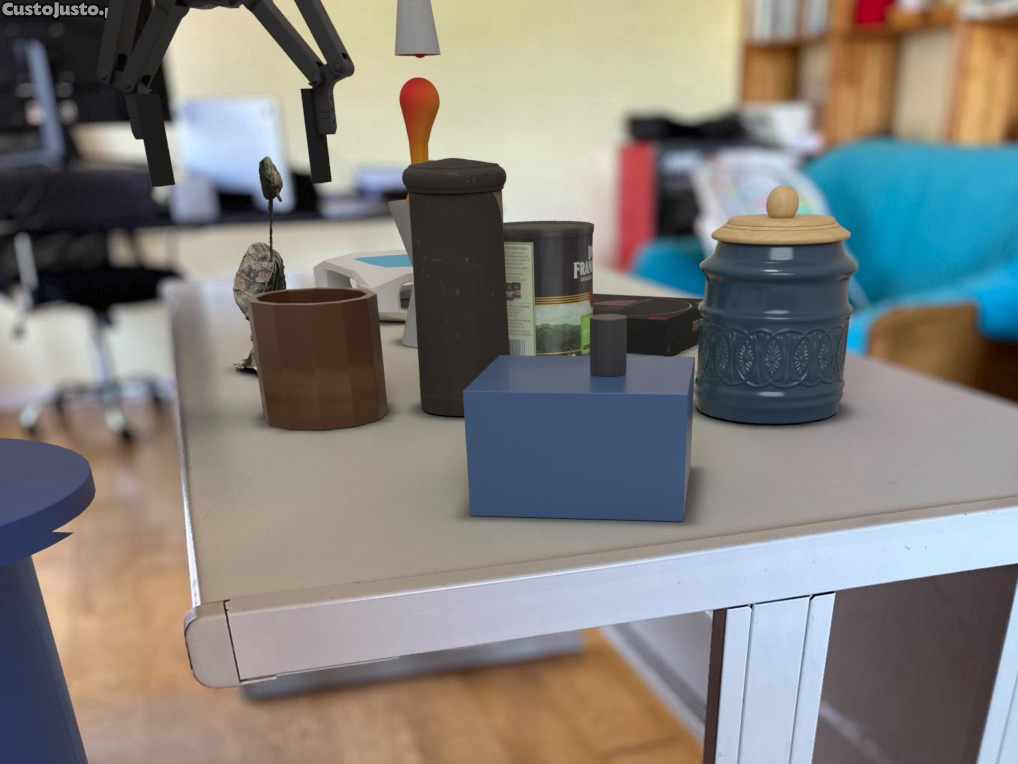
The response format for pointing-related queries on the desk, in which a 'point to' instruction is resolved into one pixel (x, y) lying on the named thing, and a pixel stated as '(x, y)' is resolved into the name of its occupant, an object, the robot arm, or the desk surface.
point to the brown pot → (318, 357)
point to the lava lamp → (415, 116)
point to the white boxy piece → (372, 278)
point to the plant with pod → (260, 256)
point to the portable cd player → (654, 322)
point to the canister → (774, 316)
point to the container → (457, 275)
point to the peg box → (581, 433)
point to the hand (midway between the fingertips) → (242, 184)
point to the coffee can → (549, 287)
